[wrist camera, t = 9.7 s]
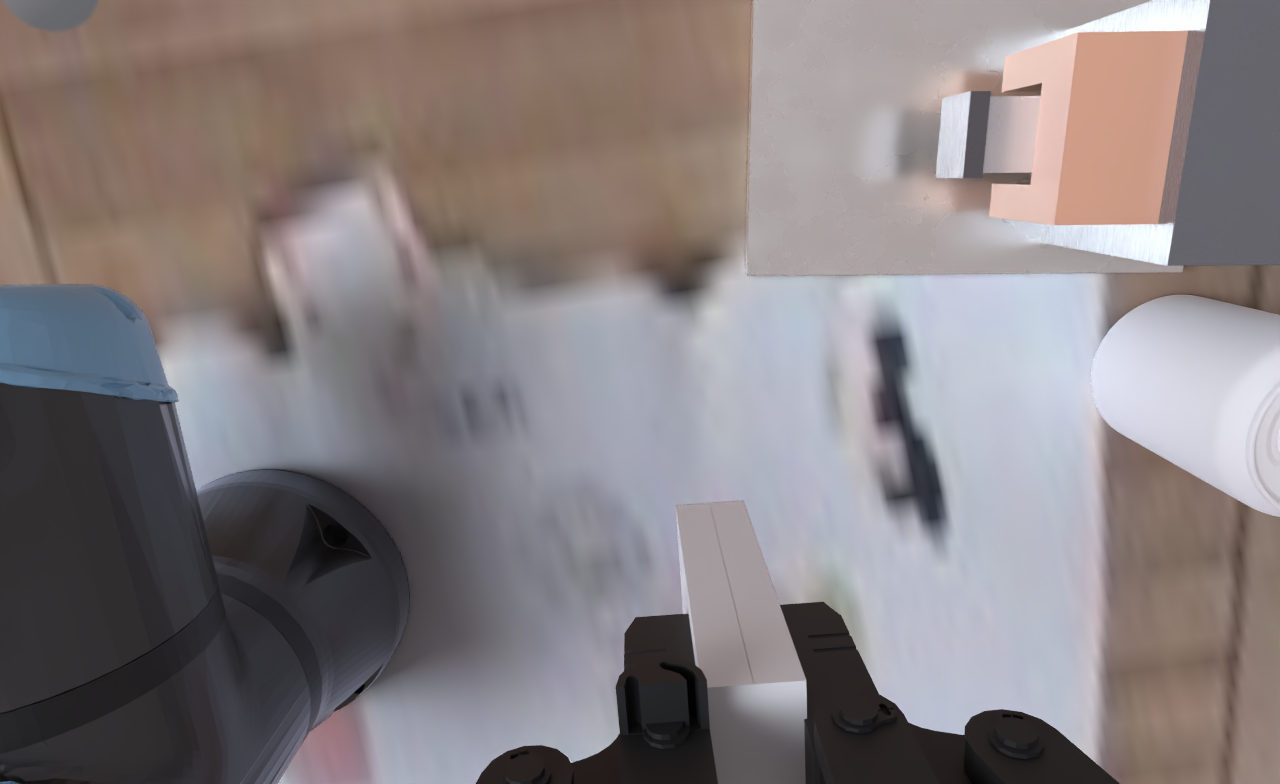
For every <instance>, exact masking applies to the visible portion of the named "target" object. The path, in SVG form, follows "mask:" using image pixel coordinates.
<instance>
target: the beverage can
mask: <svg viewBox="0 0 1280 784" xmlns="http://www.w3.org/2000/svg"><path fill="white" fill-rule="evenodd" d="M1091 391H1092V396H1093V399H1094V402H1095V405H1096V407H1097V409H1098V411H1099V413H1100V414H1101V416H1102V417H1103V419H1104V420H1105V421H1106V422H1107V423H1108V424H1109V425H1110V426H1111V427H1112V428H1113V429H1115V430H1116V431H1117V432H1119V433H1121V434H1122V435H1124V436H1126V437H1127V438H1129V439H1131V440H1133V441H1134V442H1136V443H1138V444H1140V445H1142V446H1143V447H1145V448H1147V449H1149V450H1150V451H1152V452H1154V453H1156V454H1157V455H1159V456H1161V457H1163V458H1164V459H1166V460H1168V461H1170V462H1172V463H1173V464H1175V465H1177V466H1179V467H1180V468H1182V469H1184V470H1186V471H1187V472H1189V473H1191V474H1193V475H1194V476H1196V477H1198V478H1200V479H1202V480H1203V481H1205V482H1207V483H1209V484H1210V485H1212V486H1214V487H1216V488H1217V489H1219V490H1221V491H1223V492H1224V493H1226V494H1228V495H1230V496H1232V497H1233V498H1235V499H1237V500H1239V501H1240V502H1242V503H1244V504H1246V505H1248V506H1249V507H1251V508H1253V509H1255V510H1258V511H1260V512H1263V513H1266V514H1269V515H1273V516H1277V517H1280V315H1278V314H1274V313H1270V312H1265V311H1261V310H1257V309H1252V308H1248V307H1243V306H1239V305H1235V304H1230V303H1226V302H1222V301H1217V300H1213V299H1209V298H1204V297H1200V296H1194V295H1170V296H1164V297H1160V298H1156V299H1153V300H1151V301H1148V302H1146V303H1144V304H1142V305H1140V306H1138V307H1136V308H1134V309H1133V310H1131V311H1130V312H1128V313H1127V314H1126V315H1124V316H1123V317H1122V318H1121V319H1120V320H1119V321H1117V322H1116V323H1115V324H1114V326H1113V327H1112V328H1111V329H1110V330H1109V331H1108V333H1107V334H1106V336H1105V337H1104V339H1103V340H1102V342H1101V344H1100V345H1099V347H1098V350H1097V352H1096V354H1095V357H1094V361H1093V364H1092V370H1091Z"/></svg>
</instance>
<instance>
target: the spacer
mask: <svg viewBox="0 0 1280 784" xmlns="http://www.w3.org/2000/svg"><path fill="white" fill-rule="evenodd" d="M1187 35H1188V30H1186V31H1122V32H1077V33H1074V34H1071V35H1068V36H1065V37H1062V38H1059V39H1056V40H1053V41H1050V42H1047V43H1044V44H1041V45H1038V46H1035V47H1032V48H1029V49H1026V50H1023V51H1020V52H1017V53H1014V54H1011V55H1008V56H1005V62H1004V72H1003V82H1002V92H1041V97H1040V106H1039V114H1038V123H1037V132H1036V141H1035V150H1034V158H1033V167H1032V176H1031V183H1000V184H992V191H991V200H990V210H989V217H996V218H1004V219H1011V220H1019V221H1026V222H1033V223H1041V224H1048V225H1139V224H1158V221H1159V215H1160V208H1161V202H1162V195H1163V189H1164V183H1165V176H1166V170H1167V163H1168V157H1169V150H1170V144H1171V138H1172V131H1173V125H1174V118H1175V112H1176V106H1177V99H1178V93H1179V86H1180V80H1181V74H1182V67H1183V61H1184V54H1185V48H1186V42H1187Z"/></svg>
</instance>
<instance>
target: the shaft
mask: <svg viewBox="0 0 1280 784" xmlns="http://www.w3.org/2000/svg"><path fill="white" fill-rule="evenodd" d="M990 95H991V91H970V92H966V93H962V94H958V95H954V96H950V97H947V98H943V99H942V108H941V120H940V132H939V144H938V156H937V168H936V178H982V177H983V173H1030V172H1032V167H1033V158H1034V150H1035V141H1036V132H1037V123H1038V114H1039V106H1040V97H1041V96H996V97H990Z"/></svg>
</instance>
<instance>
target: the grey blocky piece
mask: <svg viewBox="0 0 1280 784" xmlns="http://www.w3.org/2000/svg"><path fill="white" fill-rule="evenodd" d="M1186 30H1188V35H1187V42H1186V48H1185V54H1184V61H1183V67H1182V74H1181V80H1180V86H1179V93H1178V99H1177V106H1176V112H1175V118H1174V125H1173V131H1172V138H1171V144H1170V150H1169V157H1168V163H1167V170H1166V176H1165V183H1164V189H1163V195H1162V202H1161V208H1160V215H1159V221H1158V224H1139V225H1048V224H1041V223H1033V222H1026V221H1019V220H1011V219H1004V218H996V217H989V210H990V200H991V191H992V184H1000V183H1031V176H1032V172H1030V173H983V177H982V178H936V168H937V156H938V144H939V132H940V120H941V108H942V99H943V98H947V97H950V96H954V95H958V94H962V93H966V92H970V91H991V95H990V97H996V96H1041V92H1002V82H1003V72H1004V62H1005V56H1008V55H1011V54H1014V53H1017V52H1020V51H1023V50H1026V49H1029V48H1032V47H1035V46H1038V45H1041V44H1044V43H1047V42H1050V41H1053V40H1056V39H1059V38H1062V37H1065V36H1068V35H1071V34H1074V33H1077V32H1122V31H1186ZM1199 265H1280V0H753V2H752V4H751V30H750V73H749V116H748V159H747V202H746V245H745V274H746V275H747V276H778V275H901V274H1023V273H1146V272H1183V266H1199Z"/></svg>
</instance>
